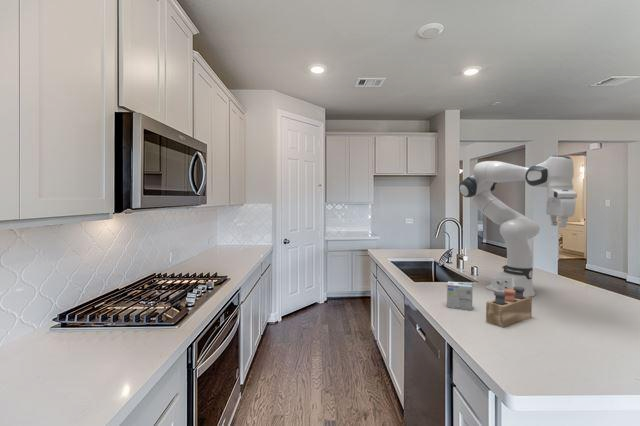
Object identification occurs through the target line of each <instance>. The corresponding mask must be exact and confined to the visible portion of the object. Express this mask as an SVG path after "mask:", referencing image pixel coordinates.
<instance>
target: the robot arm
mask: <svg viewBox="0 0 640 426" xmlns="http://www.w3.org/2000/svg"><path fill="white" fill-rule="evenodd" d="M574 167H575V166H574V161H573V159H572V157H570V156H568V155H551V156H549V157H548V159H546V160H545V161H543V162H541V163H539V164H536V165H531V166H530V167H526V166H521V165H518V164H512V163H509V162H505V161H499V160H486V161H480V162H478V163H476V164H475V165H474V167H473V172H472V173H473V174H472V175H471V176H468V177H466V178H465V179H463V180H462V181H461V182H460V183H459V185H458V191H459V193H460V194H461V196H463V197H465V198H472V203H473V205H474V206H475V207H476V208H477V209H478V210H479V212H481V213H482V214H483V215H484V216H485V217H487V218H488V219H489V220H490V221H491V222H493V223H494V224H496V225H499V233H500V236H502V238H503V240H504V243H505V247H506V264H505V265H502V266H501V269H503V271H502V272H500V273H498V274H496V275H494V276H493V277H492V278H491V281H490V284H488V285H486V287H485V288H486V290H489V291H493V292H504V289H511V290H513V287H522V288H524V292H523V296H525V297H529V298H532V297H534V296H535V295H536V294H535V291H534V286H533V285H534V284H533V276H534V271H533V270H534V269H533V267H532V266H533V259H532V258H533V253H532V250H531V249H530V247H529V242H528V240H531V239H532V238H535V237H536V236H537V235H539V233H540V230H541V229H540V224H539V223H538V222H537V221H535V220H534V219H531V218H529V217H527V216H526V215H524V214H522V213H521V212H519V211H517V210H514V209H513V208H511V207H510V206H508V205H507V204H505V203H504V202H503V201H501V200H500V199H499V198H498V197H496V196H494V194H493V193H492V192H493V191H494V190H495V189H496V185H497V183H507V182H508V183H510V182H518V181H526V183H527V185H529V186H532V187H538V188H539V187H540V188H542V187H543V188H546V198H547V200H546V206H545V214H546V215H549V218H550V222H551V223H550V224H551V226H553V227H554V226H558V221H557V220H558V219H557V217H560V223H559V227H560V228H566V227H567V223H568V221H569V218H570V217H571V218H572V217H574V216H575V212H576V199H577V197H578V192H576V191H575V190H574V184H573V178H574V176H575V175H574V173H575V171H574Z"/></svg>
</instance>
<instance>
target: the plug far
mask: <svg viewBox="0 0 640 426" xmlns="http://www.w3.org/2000/svg"><path fill="white" fill-rule="evenodd" d="M513 290H515V294H514V298H517V299H521V300H522V299H523V292H524V288H522V287H513Z"/></svg>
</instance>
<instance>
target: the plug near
mask: <svg viewBox="0 0 640 426" xmlns="http://www.w3.org/2000/svg"><path fill="white" fill-rule="evenodd" d="M493 292H494V296H495V299H494V300H495V304H499V305H505V297H506V293H504V292H495V291H493Z"/></svg>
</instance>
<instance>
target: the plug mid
mask: <svg viewBox="0 0 640 426" xmlns="http://www.w3.org/2000/svg"><path fill="white" fill-rule="evenodd" d="M504 293H506V297H505V301H509V302H514V294H515V290H511V289H504Z"/></svg>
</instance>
